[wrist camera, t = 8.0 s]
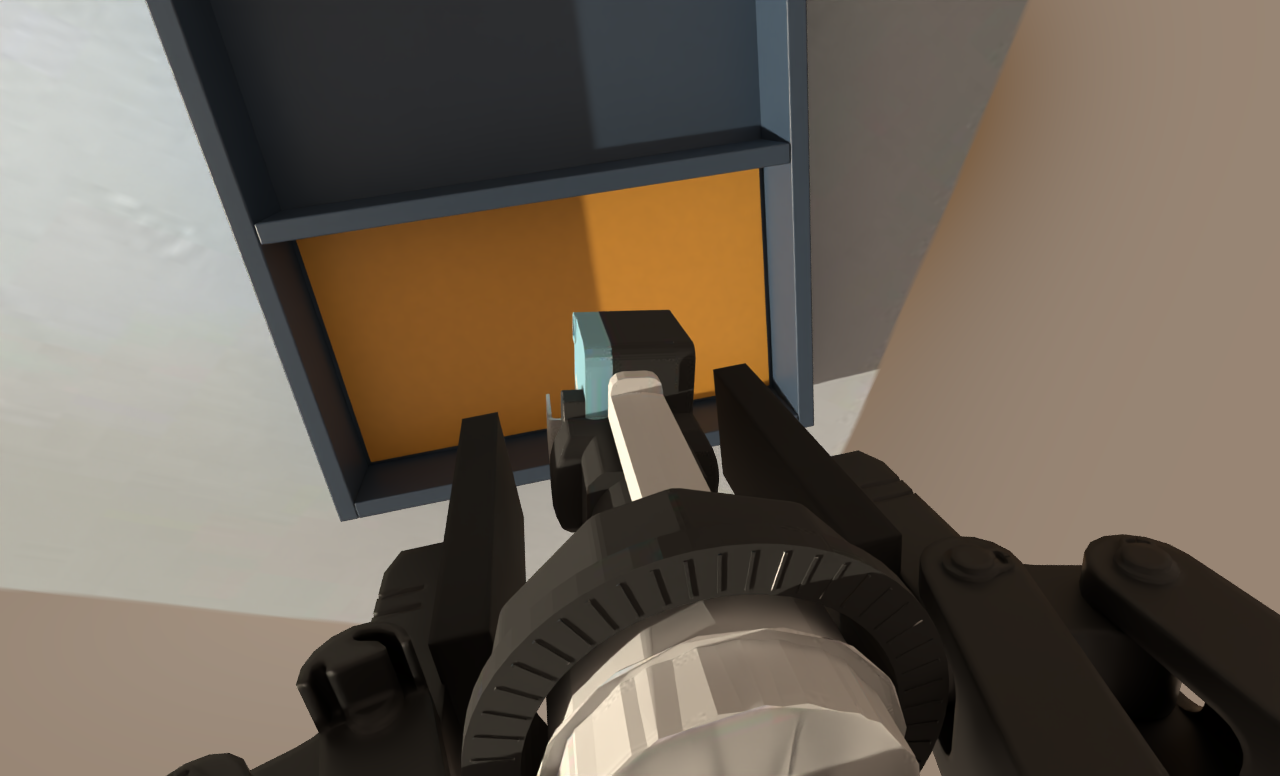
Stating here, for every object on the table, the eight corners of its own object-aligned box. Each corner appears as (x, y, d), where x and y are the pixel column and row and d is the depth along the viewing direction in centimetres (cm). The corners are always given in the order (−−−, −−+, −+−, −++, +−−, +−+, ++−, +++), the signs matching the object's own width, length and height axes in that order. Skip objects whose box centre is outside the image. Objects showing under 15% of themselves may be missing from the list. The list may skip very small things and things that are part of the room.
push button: (712, 541, 17) (925, 1024, 8) (503, 558, 16) (483, 1119, 7) (732, 290, 15) (1075, 591, 6) (484, 294, 14) (420, 658, 5)
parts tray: (359, 475, 29) (340, 522, 26) (140, -152, 20) (68, -201, 17) (782, 392, 31) (814, 426, 28) (759, -206, 22) (802, -259, 19)
